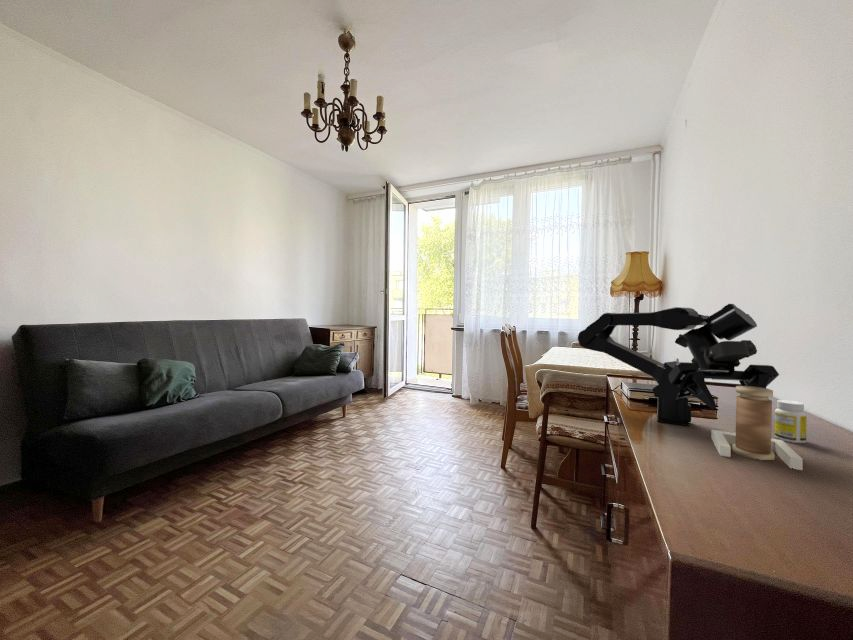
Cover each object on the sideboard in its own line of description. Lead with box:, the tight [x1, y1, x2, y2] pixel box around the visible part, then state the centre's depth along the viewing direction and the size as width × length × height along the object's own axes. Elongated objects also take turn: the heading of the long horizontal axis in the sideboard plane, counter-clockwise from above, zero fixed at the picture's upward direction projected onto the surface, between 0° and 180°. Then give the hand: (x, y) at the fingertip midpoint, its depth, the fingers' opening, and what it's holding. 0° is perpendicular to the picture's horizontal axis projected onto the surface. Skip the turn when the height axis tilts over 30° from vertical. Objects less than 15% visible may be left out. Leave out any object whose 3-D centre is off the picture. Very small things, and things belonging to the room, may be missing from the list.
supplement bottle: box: [774, 399, 808, 444], centre depth 74 cm, size 5×5×8 cm
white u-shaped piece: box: [710, 429, 804, 471], centre depth 66 cm, size 11×11×2 cm
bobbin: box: [731, 385, 776, 461], centre depth 66 cm, size 6×6×13 cm
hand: (739, 409), depth 69 cm, fingers open, 9 cm apart
